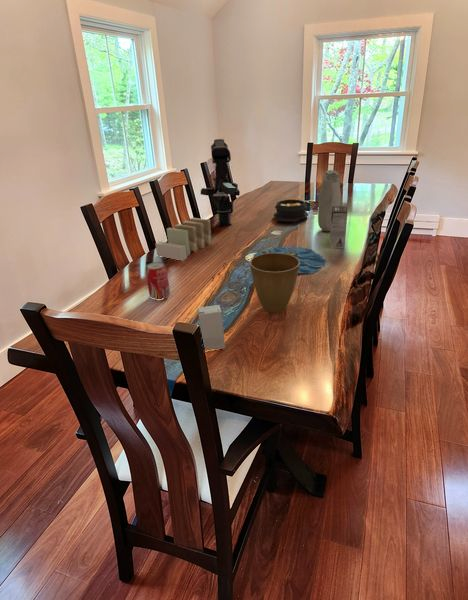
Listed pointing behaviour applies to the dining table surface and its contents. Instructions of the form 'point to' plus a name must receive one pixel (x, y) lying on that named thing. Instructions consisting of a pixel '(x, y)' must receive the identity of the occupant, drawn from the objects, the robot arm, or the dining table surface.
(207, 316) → the skincare box
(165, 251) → the block
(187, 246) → the sage end tile
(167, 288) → the soda can
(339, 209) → the coffee box
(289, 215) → the casserole
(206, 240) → the maple tile
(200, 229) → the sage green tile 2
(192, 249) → the maple tile
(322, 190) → the grey bottle
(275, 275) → the plant pot
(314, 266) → the decorative plate
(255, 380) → the dining table surface
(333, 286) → the dining table surface
